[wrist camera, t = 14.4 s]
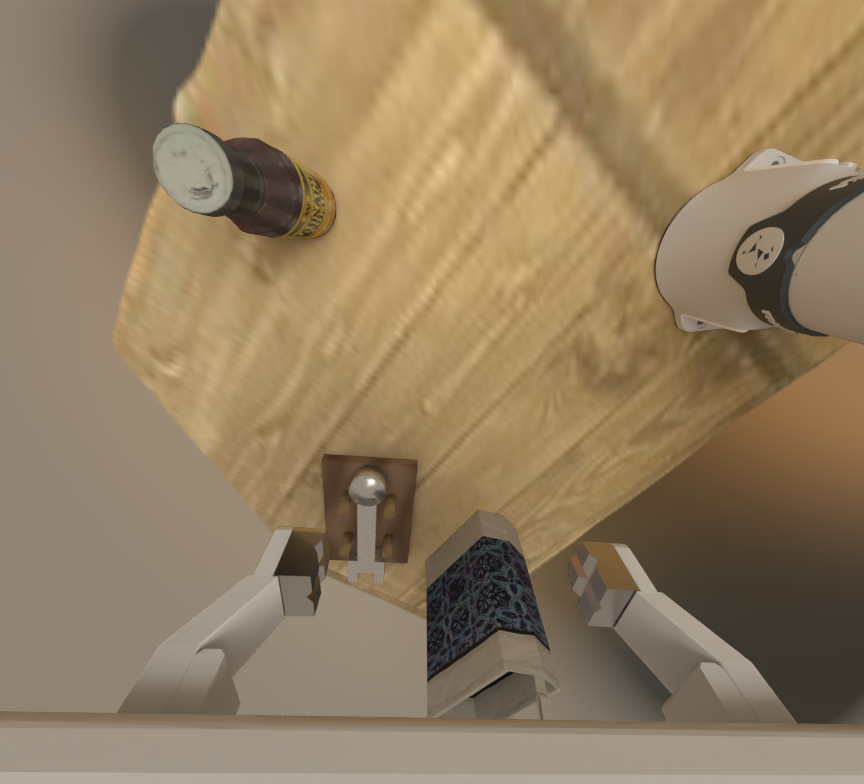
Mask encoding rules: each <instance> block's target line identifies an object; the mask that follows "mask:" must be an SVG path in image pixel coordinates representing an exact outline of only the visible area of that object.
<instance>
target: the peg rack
mask: <svg viewBox="0 0 864 784" xmlns="http://www.w3.org/2000/svg"><path fill="white" fill-rule="evenodd" d="M365 465H373V466H376V467H379V468H381V469H382V470H383V471H384V472H385V473H386V476H387V485H386V492H385V497H384V499H383V501H382V502H380V503H379V504H378V532H377V546H383V548H382V557H383V558H384V559H386V562H392V563H407V562H408V552H409V542H410V532H411V522H412V512H413V502H414V492H415V483H416V473H417V460H405V459H390V458H375V457H360V456H344V455H329V454H324V457H323V459H322V471H323V487H324V503H325V518H326V529H327V530H328V532H329V538H328V542H327V545H328V546H329V547H330V555H329V560H348V557H349V553H350V548H351V545H357V503H355V502H354V501H353V500H352V499H351V498H350V496H349V488H350V484H351V481H352V477H353V474H354V472H355V471H356V470H357V469H358V468H359V467H362V466H365Z"/></svg>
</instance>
